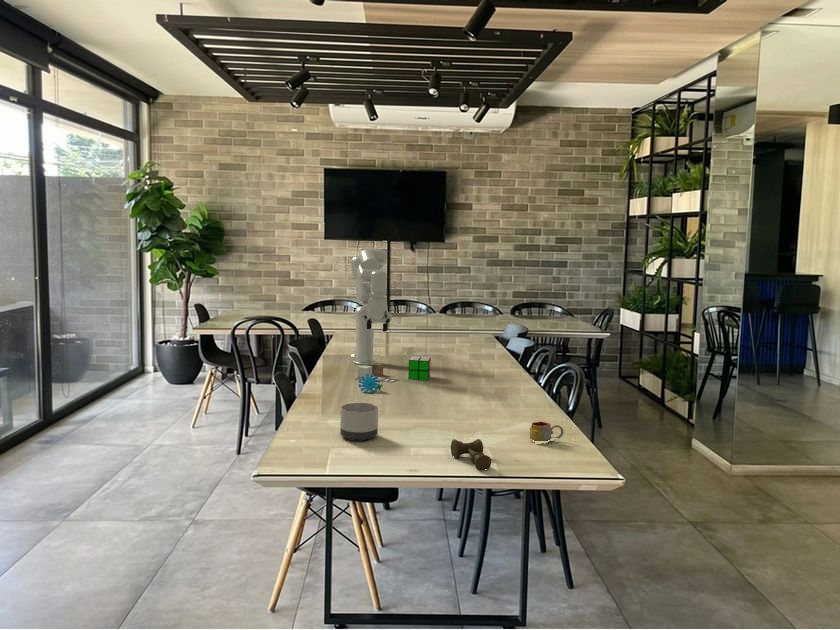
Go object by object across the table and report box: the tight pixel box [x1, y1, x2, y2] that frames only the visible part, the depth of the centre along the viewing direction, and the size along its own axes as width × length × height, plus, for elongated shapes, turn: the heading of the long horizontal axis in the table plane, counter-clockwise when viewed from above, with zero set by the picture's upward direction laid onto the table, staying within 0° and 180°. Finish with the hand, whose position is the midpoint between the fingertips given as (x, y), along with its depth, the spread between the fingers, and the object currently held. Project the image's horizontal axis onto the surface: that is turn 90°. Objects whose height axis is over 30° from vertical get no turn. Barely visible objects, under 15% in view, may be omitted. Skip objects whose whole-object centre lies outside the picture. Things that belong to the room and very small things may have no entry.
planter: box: [339, 402, 379, 441], centre depth 219 cm, size 13×13×10 cm
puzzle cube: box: [407, 356, 432, 381], centre depth 317 cm, size 10×10×10 cm
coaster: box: [379, 377, 401, 384], centre depth 309 cm, size 8×8×1 cm
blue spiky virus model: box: [358, 374, 384, 394], centre depth 287 cm, size 11×6×10 cm
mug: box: [529, 421, 565, 441], centre depth 221 cm, size 12×7×7 cm, turn 96°
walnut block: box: [368, 362, 384, 377], centre depth 320 cm, size 5×5×6 cm
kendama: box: [450, 438, 492, 471], centre depth 200 cm, size 6×10×20 cm
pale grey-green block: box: [357, 365, 372, 380], centre depth 310 cm, size 5×5×6 cm
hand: (377, 330), depth 318 cm, fingers open, 9 cm apart
